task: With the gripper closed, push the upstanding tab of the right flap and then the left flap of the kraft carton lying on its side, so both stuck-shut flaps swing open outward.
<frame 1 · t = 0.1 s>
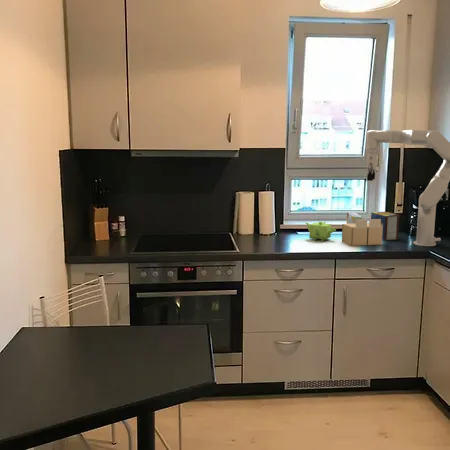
hand: (371, 179, 319), 37 cm above the kitchen counter, tool pointing down, fingers open, 9 cm apart
snack box: (353, 238, 334), on the kitchen counter
carton: (361, 243, 317), on the kitchen counter
flap 2: (375, 231, 310), point 8 cm above the kitchen counter, hinge at 0.0°
flap 1: (360, 232, 308), point 8 cm above the kitchen counter, hinge at 0.0°
kettle: (319, 239, 328), on the kitchen counter
protein box: (383, 238, 334), on the kitchen counter
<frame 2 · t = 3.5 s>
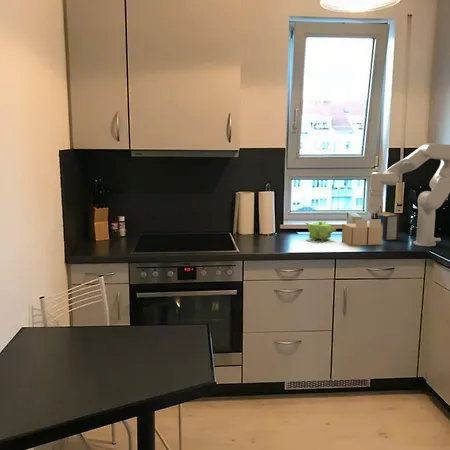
hand: (374, 224, 312), 12 cm above the kitchen counter, tool pointing down, fingers closed
flap 2: (375, 231, 310), point 8 cm above the kitchen counter, hinge at 1.2°, touching gripper
everything else where it was.
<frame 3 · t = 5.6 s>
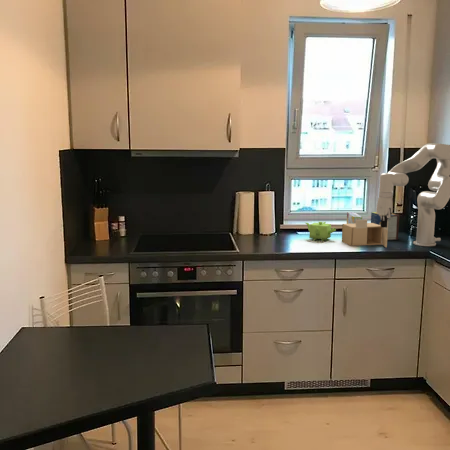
hand: (383, 227, 302), 12 cm above the kitchen counter, tool pointing down, fingers closed
flap 2: (385, 233, 307), point 8 cm above the kitchen counter, hinge at 74.6°, touching gripper
everything else where it was.
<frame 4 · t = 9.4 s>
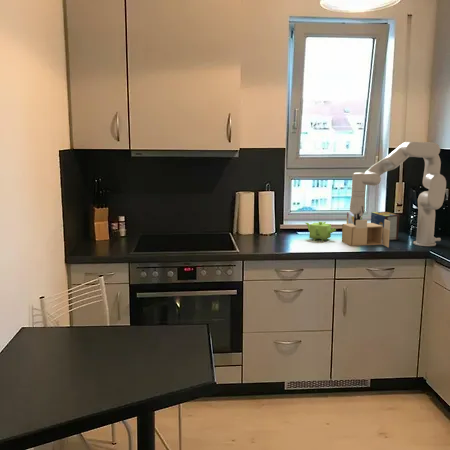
hand: (356, 225, 310), 12 cm above the kitchen counter, tool pointing down, fingers closed
flap 2: (386, 233, 307), point 8 cm above the kitchen counter, hinge at 81.6°
flap 1: (360, 232, 308), point 8 cm above the kitchen counter, hinge at 0.0°, touching gripper
everything else where it was.
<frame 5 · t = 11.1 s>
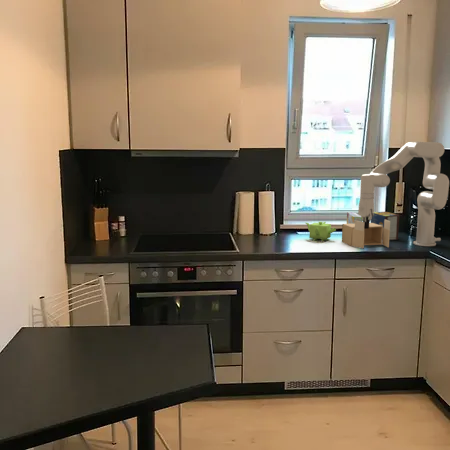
hand: (365, 228, 300), 12 cm above the kitchen counter, tool pointing down, fingers closed
flap 1: (358, 234, 303), point 8 cm above the kitchen counter, hinge at 73.8°, touching gripper
everything else where it was.
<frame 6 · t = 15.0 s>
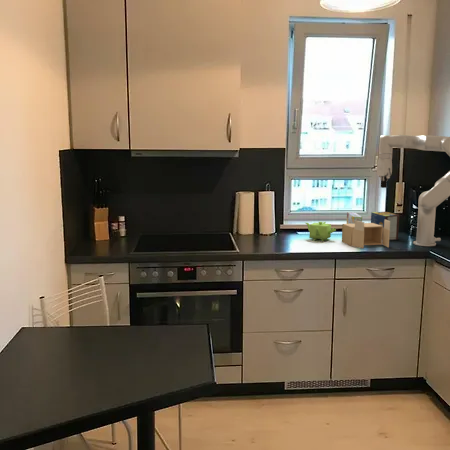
hand: (383, 187, 315), 33 cm above the kitchen counter, tool pointing down, fingers closed
flap 1: (358, 234, 303), point 8 cm above the kitchen counter, hinge at 74.6°
everything else where it was.
at the end: flap 2 at +82° (first picture: +0°); flap 1 at +75° (first picture: +0°) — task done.
